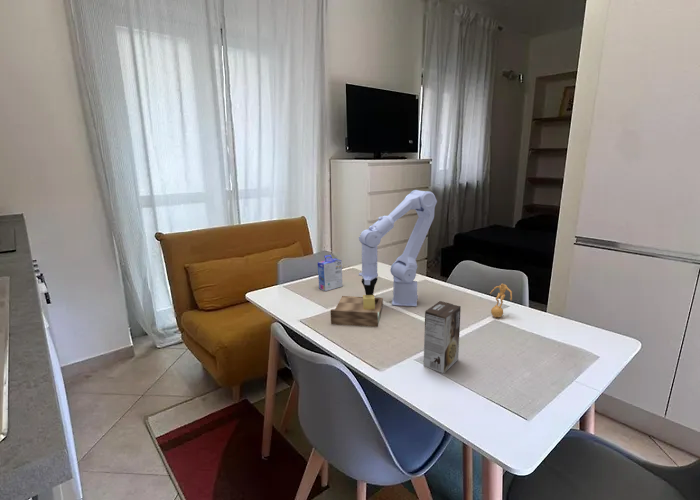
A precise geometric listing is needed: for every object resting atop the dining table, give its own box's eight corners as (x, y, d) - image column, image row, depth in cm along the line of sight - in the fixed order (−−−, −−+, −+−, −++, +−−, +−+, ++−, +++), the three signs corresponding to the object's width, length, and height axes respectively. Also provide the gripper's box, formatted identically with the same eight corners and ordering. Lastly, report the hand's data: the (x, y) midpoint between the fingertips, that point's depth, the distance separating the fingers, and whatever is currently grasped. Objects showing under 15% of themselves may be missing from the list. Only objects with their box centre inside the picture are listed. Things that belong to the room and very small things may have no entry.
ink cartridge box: (335, 283, 171) (335, 252, 168) (343, 286, 167) (342, 255, 164) (317, 288, 165) (316, 256, 162) (325, 291, 161) (324, 259, 158)
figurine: (483, 314, 134) (485, 282, 132) (493, 310, 138) (495, 279, 135) (504, 322, 128) (507, 288, 125) (514, 317, 131) (517, 285, 128)
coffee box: (437, 352, 108) (439, 300, 105) (458, 359, 104) (462, 305, 101) (422, 366, 102) (424, 310, 98) (444, 374, 98) (447, 316, 94)
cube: (373, 305, 138) (373, 294, 137) (374, 309, 134) (374, 298, 133) (363, 305, 138) (363, 295, 137) (363, 309, 134) (363, 298, 133)
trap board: (382, 303, 146) (382, 291, 145) (377, 326, 126) (377, 312, 125) (342, 301, 149) (342, 289, 148) (330, 324, 129) (330, 310, 127)
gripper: (361, 257, 145) (361, 290, 149) (355, 267, 132) (356, 303, 135) (379, 257, 144) (379, 291, 147) (375, 268, 130) (375, 304, 133)
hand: (369, 297), depth 141 cm, fingers closed
